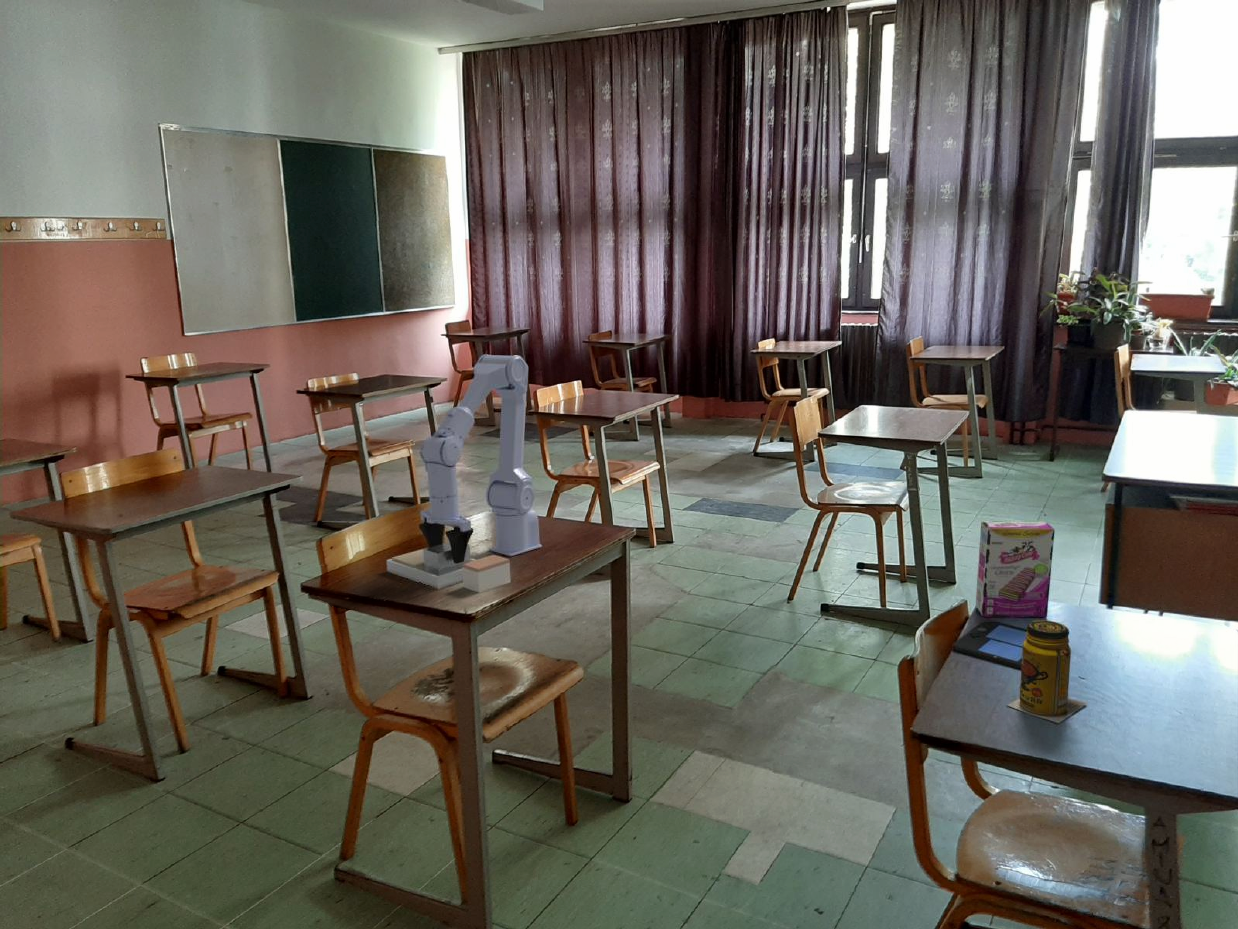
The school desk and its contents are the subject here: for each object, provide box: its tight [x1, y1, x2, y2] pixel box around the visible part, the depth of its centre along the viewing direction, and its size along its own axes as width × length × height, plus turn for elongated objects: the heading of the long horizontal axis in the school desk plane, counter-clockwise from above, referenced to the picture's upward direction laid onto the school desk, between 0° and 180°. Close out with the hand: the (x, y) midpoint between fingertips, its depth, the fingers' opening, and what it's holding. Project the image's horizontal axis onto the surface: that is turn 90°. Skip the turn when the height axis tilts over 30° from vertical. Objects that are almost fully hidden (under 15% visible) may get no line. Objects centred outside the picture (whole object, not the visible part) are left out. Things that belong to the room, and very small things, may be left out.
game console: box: [951, 620, 1027, 671], centre depth 147 cm, size 14×13×2 cm
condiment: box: [1006, 620, 1088, 724], centre depth 127 cm, size 7×8×12 cm
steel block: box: [422, 541, 471, 576], centre depth 191 cm, size 8×5×6 cm, turn 137°
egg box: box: [462, 554, 512, 594], centre depth 185 cm, size 8×5×5 cm, turn 137°
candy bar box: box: [975, 520, 1056, 618], centre depth 161 cm, size 11×5×16 cm, turn 84°
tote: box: [385, 547, 476, 590], centre depth 194 cm, size 12×18×3 cm
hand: (447, 558), depth 191 cm, fingers open, 7 cm apart
